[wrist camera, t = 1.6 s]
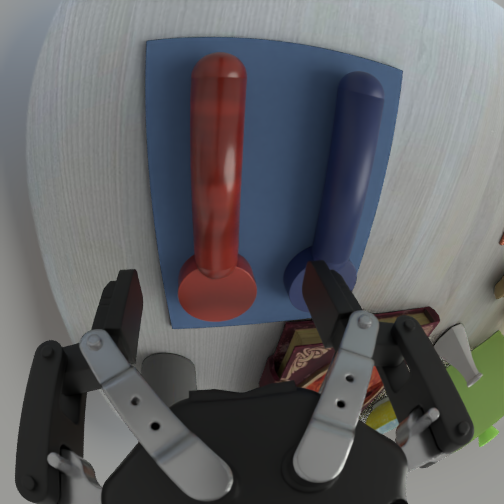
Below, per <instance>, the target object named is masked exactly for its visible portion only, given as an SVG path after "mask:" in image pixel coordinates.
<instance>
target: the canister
mask: <svg viewBox="0 0 504 504" xmlns="http://www.w3.org/2000/svg"><path fill="white" fill-rule="evenodd" d="M471 354H472V358H473V361H474V363H475V366H476V368H477V370H478V371H479V373H481V374H482V375H483V376H482V377H481V378H480V379H479V380H478V381H477V382H476V383H474V384H473V385H472V386H470V387H467V382H466V380H465V378H464V377H463V376H462V374H461V373H460V372H459V371H458V370H457V369H456V368H455V367H453V366H452V365H450V366H449V367H447V368H446V370H447V372H448V373H449V375H450V377H451V379H452V381H453V383H454V385H455V387H456V389H457V391H458V393H459V395H460V397H461V399H462V401H463V403H464V405H465V407H466V409H467V411H468V413H469V416H470V418H471V420H472V422H473V425H474V435H473V438H472V440H474V439H475V438H477V437H479V447H481V446H483V445H485V444H486V443H488V442H489V441H491V440H492V439H493V438H494V437H495V436H496V435H497V434H498V433H499V431H498V430H497V429H496V428H494V427H493V426H492V425H493V424H494V423H496V422H497V421H498V420H499V419H500V418H502V417H503V416H504V336H503V335H502V334H501V332H500V331H498V332H496V333H495V334H494V335H493V336H491V337H490V338H489V339H487V340H486V341H485V342H483V343H482V344H481V345H479V346H478V347H477V348H475V349H474V350H472V351H471ZM472 440H471V441H472ZM471 441H470V442H471ZM470 442H469V443H470ZM466 445H467V444H466ZM463 447H464V446H463ZM460 449H461V448H460ZM460 449H458V450H460ZM458 450H457V451H458ZM455 452H456V451H455Z"/></svg>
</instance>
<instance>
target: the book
mask: <svg viewBox="0 0 504 504" xmlns="http://www.w3.org/2000/svg"><path fill="white" fill-rule="evenodd" d="M401 315H408V316H411V317H413V318H415V319H416V320H417V321H418V322H419V323H420V325H421V327H422V328H423V330H424V332H425V333H426V335H427V336H428V337H429V335H430V334H431V333H432V331H433V330H434V329H435V327H436V326H437V325H438V323H439V322H440V318H439V315H438V314H437V313H436V311H435V310H434V309H432V308H430V307H424V308H417V309H411V310H404V311H397V312H389V313H382V314H374V316H375V317H376V318H377V319H378V321H380V322H388V323H394V322H395V320H396V319H397V317H399V316H401ZM334 352H335V350H334V348H333V347H332V348H326V349H325V347H324V345H323V343H322V340H321V338H320V336H319V333H318V331H317V329H316V326H315V324H314V322H313V321H300V322H286V324H285V327H284V329H283V332H282V335H281V338H280V340H279V343H278V346H277V348H276V351H275V354H274V355H271V356H270V357H269V358H268V360H267V363H266V365H265V368H264V371H263V374H262V376H261V379H260V382H259V387H262V386H264V385H267V384H271V383H278V382H285V381H291V380H294V381H295V385H296V387H301V388H306V389H310V390H313V391H315V392H318V391H319V389H320V386H321V384H322V382H323V380H324V377H325V375H326V372H327V370H328V367H329V365H330V362H331V360H332V357H333V355H334ZM403 360H404V362H405V364H407V363H406V361H405V359H403ZM384 389H385V388H384V385H383V383H382V380H381V378H380V376H379V373H378V371H377V369H376V366H373V370H372V374H371V378H370V382H369V386H368V389H367V393H366V396H365V400H364V403H363V406H362V409H361V412H362V411H363V410H364V409H365V408H366V407H367V406H368V405H369V404H370V403H371V402H372V401H373V400H374V399H375V398H376V397H377V396H378V395H379V394H380V393H381V392H382V391H383V390H384Z"/></svg>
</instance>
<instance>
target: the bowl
mask: <svg viewBox="0 0 504 504" xmlns="http://www.w3.org/2000/svg"><path fill="white" fill-rule="evenodd" d="M366 424H367V425H368V426H370V427H371V428H373V429H375V430H376V431H378V432H379V433H381V434H383V433H385V432H388V431H390V430H392V429H394V428H396V427H397V426H398V425H399V423H398V420H397V418H396V415H395V412H394V410H393V407H392V405H391V402H390V400H389V397H386V398H384V399H382V400H380V401H378V402H377V403H375V404H374V405H373V411H372V412H371V413H370V415H369V416H368V418H367V421H366Z"/></svg>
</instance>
